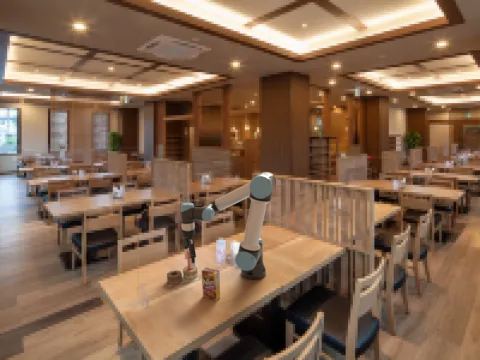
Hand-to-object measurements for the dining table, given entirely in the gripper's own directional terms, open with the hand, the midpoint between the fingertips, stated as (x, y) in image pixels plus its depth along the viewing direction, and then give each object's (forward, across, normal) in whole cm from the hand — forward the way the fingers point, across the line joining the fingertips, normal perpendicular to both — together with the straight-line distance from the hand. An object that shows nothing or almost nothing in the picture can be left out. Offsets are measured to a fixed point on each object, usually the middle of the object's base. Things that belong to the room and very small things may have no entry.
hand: (189, 263), depth 176 cm
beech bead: (+8, 0, 0) cm, 8 cm away
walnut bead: (+8, +2, -10) cm, 13 cm away
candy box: (+9, +27, +4) cm, 28 cm away
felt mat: (+9, +1, -5) cm, 10 cm away
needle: (+8, 0, 0) cm, 9 cm away
